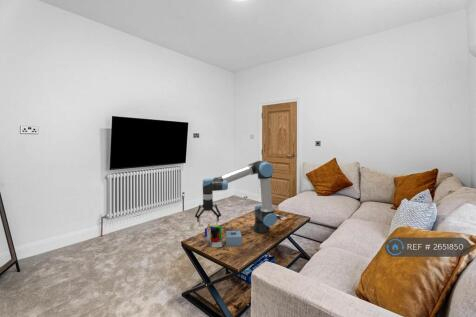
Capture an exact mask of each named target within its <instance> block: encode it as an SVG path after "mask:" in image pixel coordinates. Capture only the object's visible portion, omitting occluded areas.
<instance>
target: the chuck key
mask: <svg viewBox="0 0 476 317" xmlns="http://www.w3.org/2000/svg"><path fill="white" fill-rule="evenodd" d="M210 225H211V223H207V227H206V228H207V241H206V242H207V244H206V245H207V247H209V248H210V247H212V242H211V228H210Z"/></svg>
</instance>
